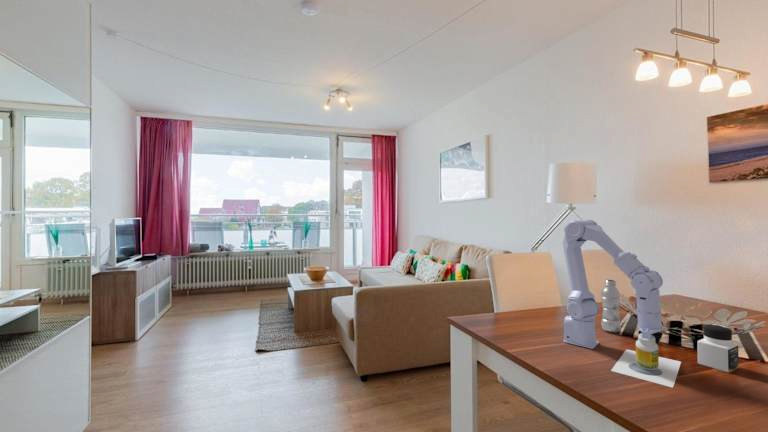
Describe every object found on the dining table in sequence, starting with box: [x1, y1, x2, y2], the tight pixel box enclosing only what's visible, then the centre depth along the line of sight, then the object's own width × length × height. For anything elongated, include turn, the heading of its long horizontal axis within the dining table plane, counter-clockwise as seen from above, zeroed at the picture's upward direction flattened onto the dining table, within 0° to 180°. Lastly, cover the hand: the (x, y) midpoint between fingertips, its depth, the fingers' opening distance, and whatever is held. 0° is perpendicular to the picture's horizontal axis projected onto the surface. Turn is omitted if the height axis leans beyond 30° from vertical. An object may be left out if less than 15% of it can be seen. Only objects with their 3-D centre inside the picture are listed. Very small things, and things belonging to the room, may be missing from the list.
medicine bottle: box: [696, 323, 740, 374], centre depth 102 cm, size 7×7×12 cm
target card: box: [610, 349, 682, 388], centre depth 102 cm, size 14×22×1 cm, turn 134°
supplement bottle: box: [635, 333, 659, 370], centre depth 100 cm, size 5×5×10 cm
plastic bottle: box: [600, 279, 622, 333], centre depth 132 cm, size 6×7×20 cm
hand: (651, 356), depth 102 cm, fingers closed, pressing on supplement bottle
